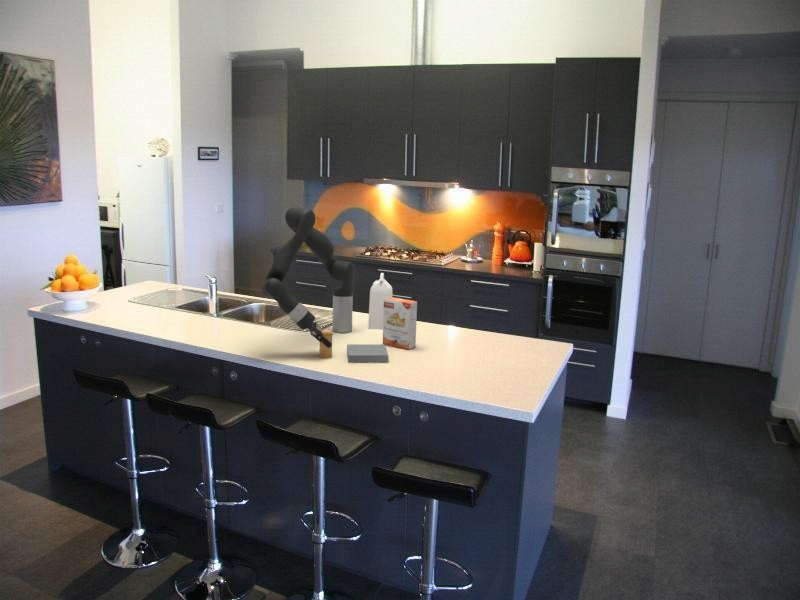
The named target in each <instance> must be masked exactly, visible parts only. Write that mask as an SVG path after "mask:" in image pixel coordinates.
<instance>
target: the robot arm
mask: <svg viewBox="0 0 800 600" xmlns="http://www.w3.org/2000/svg"><path fill="white" fill-rule="evenodd" d="M284 219H285V222H286V224H287V226H288V228H289V229H291V231H293V232H294V234H293V236H292V237H291V238H290V239H289V241H288V242H286V243H285V244H284V245H283V246H282V247H281V248H280V249H279V250H278V251H277V253H276V256H275V257H274V260H273V262H272V264H271V267H270V269H269V272H268V273H267V274H266V277H265V279H263V281H262V286H261V292H262V294H263V295H264V296H265V297H267V298H273V299H274V301H276V302H277V305H278V307H279V308H280V310H282V311H283V313H285V315H286V316H288V317H289V319H290V320H291V321H292V322H293V323H294V324H295V325H296V326H298V328H300V330H302V331H305V330H307V329H308V330H309V334H310V335H311V336H312V337H313V338H314V339H316V341H318V343H319V344H320V343H321V342H322V343H323V344H324V345H325V346H326V347H327V348H330V347H331V346H332V347H333V343H332V344H331V343H330V342H329V341H328V340H327V339H326V337H325V336H324V335H323V332H322V331H323V330H324V329H323V328H322V327H321V326H320V325H319V324H318V322H317V321H315V320H316V316H315V315H314V314H313V313H312V312H311V311H310V310H309V309H308V308H306V306H305V305H304V304H303V303H301V302H300V301H299V300H298V299H297V298H296V297H295V296H293V294H291V292H290V291H289V289H288V288H287V286H285V284H284V283H283V281H284V279H285V277H286V276H287V275H288V273H289V270H290V269H291V266H292V263H294V259H295V257H296V255H297V254H298V252H299V250H300V249H301V247H302V246H303V244H305V245H306V246H307V247H308V248H309V250H310V251H311V252H312V254H313V255H315V257H316V258H317V259H318V260H319V261H320V263H321V264H322V265H323V267H324V268H325V270H326V272H327V273H328V275H329V276H330V277H331V279H333V280H335V281H340V282H342V283H341V284H342V285H341V286H338V287H335V288H333V291H332V332H334V333H339V334H347V333H351V332H352V331H353V307H354V306H353V305H354V304H353V302H354V301H353V299H354V298H353V294H354V289H355V277H356V268H355V264H354V263H353V262H352V261H348V260H347V261H345V260H339V259H337V258H336V257H335V255H334V252H335V246H334V244H333V243H332V241H331V240H330V238H329V237H328V236H327V235H326V234H325V233H323V232H322V231H320V230H319V229H318V228H315V227H314V226H315V223H316V214H315V212H314V211H313V210H312V209H309V208H306V207H300V206H299V207H298V206H293V207H289V208H288V209H287V211H286V212H285V217H284ZM320 336H321V337H322V338H321V339H320Z"/></svg>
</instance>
